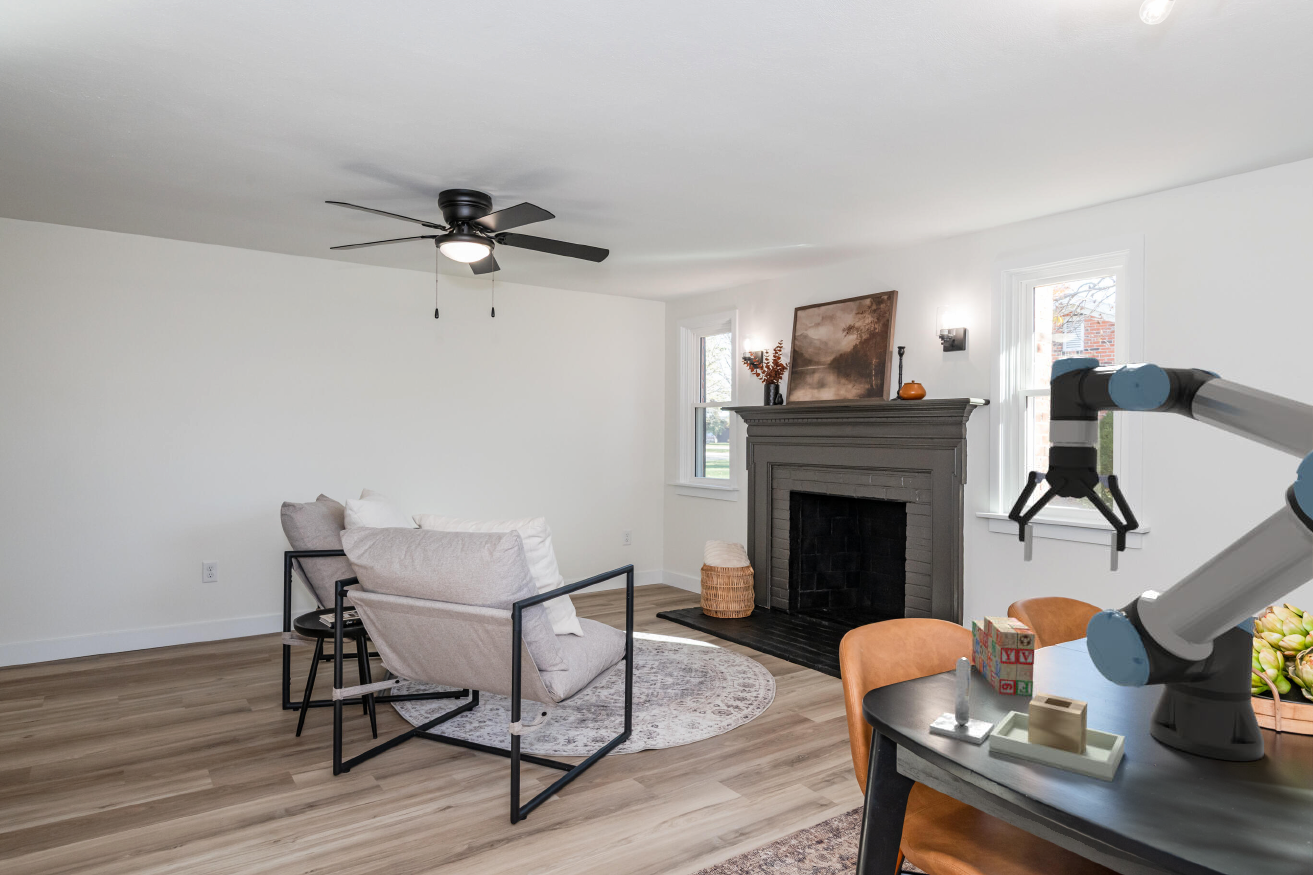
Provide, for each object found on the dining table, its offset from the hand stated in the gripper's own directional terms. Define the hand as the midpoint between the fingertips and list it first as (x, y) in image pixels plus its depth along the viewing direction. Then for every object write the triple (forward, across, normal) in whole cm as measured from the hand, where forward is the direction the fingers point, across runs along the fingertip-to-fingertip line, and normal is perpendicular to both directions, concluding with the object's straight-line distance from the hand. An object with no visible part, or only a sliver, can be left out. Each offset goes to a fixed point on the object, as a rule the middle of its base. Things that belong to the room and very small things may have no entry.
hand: (1069, 565), depth 135 cm
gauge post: (+27, +12, +20) cm, 35 cm away
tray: (+27, -2, +18) cm, 33 cm away
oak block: (+26, -2, +18) cm, 32 cm away
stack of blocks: (+27, +15, -15) cm, 34 cm away
